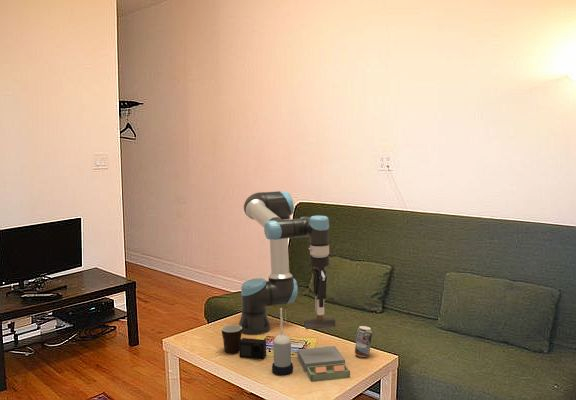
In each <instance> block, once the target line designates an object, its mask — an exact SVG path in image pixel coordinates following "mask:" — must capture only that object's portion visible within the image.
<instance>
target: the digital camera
mask: <svg viewBox="0 0 576 400" xmlns="http://www.w3.org/2000/svg"><path fill="white" fill-rule="evenodd" d="M239 351H240V352H239V358H240V359H241V358H242V359H248V360H249V359H252V360H261V361H264V360H265V358H266V356H267V340H266V339H262V338H261V339H259V338H250V337H249V338H246V337H241V340H240V341H239Z"/></svg>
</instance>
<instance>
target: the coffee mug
mask: <svg viewBox="0 0 576 400" xmlns="http://www.w3.org/2000/svg"><path fill="white" fill-rule="evenodd" d="M221 334H222V336H221V337H222V343H223V349H224V353H225V354H227V355H235V354H240V351H239V341H240V340H241V339H242V334H243V333H242V327H241V326H239V324H228V325H224V326H222V327H221Z"/></svg>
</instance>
